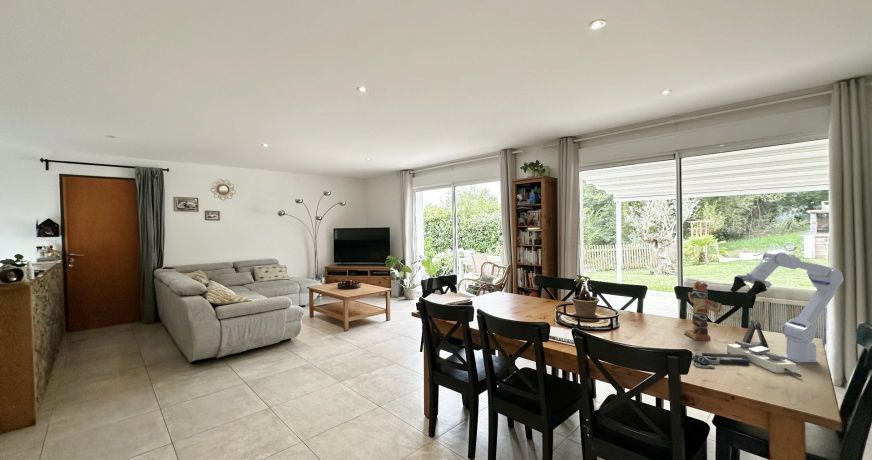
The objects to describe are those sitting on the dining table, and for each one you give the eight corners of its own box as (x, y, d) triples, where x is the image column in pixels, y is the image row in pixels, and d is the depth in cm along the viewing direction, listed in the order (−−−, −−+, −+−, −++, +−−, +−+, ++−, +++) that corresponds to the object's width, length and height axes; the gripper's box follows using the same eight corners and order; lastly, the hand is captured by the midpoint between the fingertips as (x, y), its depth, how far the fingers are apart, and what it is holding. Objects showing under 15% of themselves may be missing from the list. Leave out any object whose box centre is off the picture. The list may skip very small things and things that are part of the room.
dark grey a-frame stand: (765, 343, 183) (765, 320, 183) (768, 347, 178) (768, 323, 178) (742, 340, 188) (742, 318, 187) (745, 344, 183) (745, 321, 182)
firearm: (763, 366, 150) (740, 351, 165) (697, 363, 155) (681, 349, 170) (762, 374, 150) (740, 358, 165) (697, 370, 155) (681, 355, 170)
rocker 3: (775, 356, 157) (776, 354, 156) (784, 360, 153) (785, 357, 152) (762, 354, 156) (763, 351, 156) (771, 358, 152) (772, 355, 152)
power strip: (744, 351, 174) (745, 342, 174) (811, 378, 144) (811, 368, 144) (726, 351, 173) (726, 343, 173) (789, 379, 143) (789, 368, 143)
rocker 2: (761, 348, 163) (760, 345, 163) (769, 351, 159) (769, 348, 159) (748, 351, 163) (748, 348, 163) (756, 354, 159) (756, 351, 159)
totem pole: (675, 328, 209) (676, 277, 208) (689, 329, 208) (690, 278, 207) (705, 346, 181) (706, 287, 180) (722, 346, 180) (722, 287, 179)
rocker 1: (747, 345, 171) (747, 342, 170) (754, 348, 167) (755, 345, 166) (735, 343, 170) (735, 340, 170) (742, 346, 166) (743, 343, 166)
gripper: (740, 263, 168) (720, 283, 167) (772, 269, 153) (750, 291, 153) (749, 273, 169) (729, 294, 168) (782, 280, 154) (760, 303, 154)
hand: (739, 293), depth 161 cm, fingers open, 7 cm apart
